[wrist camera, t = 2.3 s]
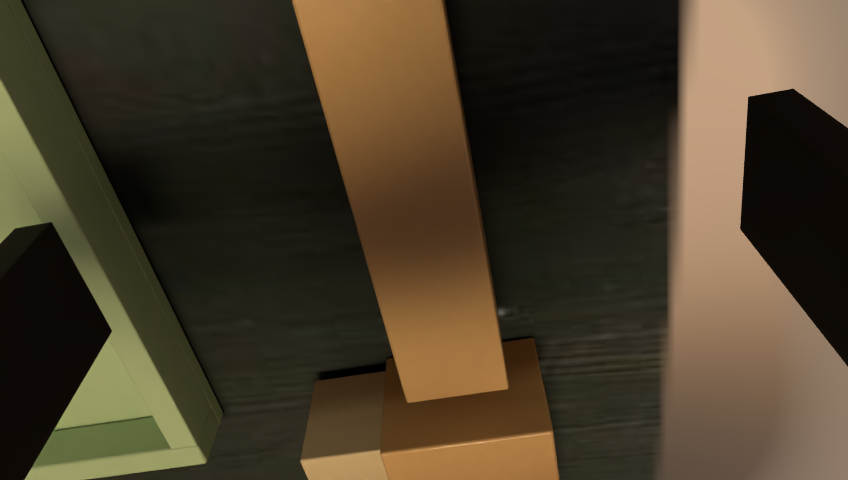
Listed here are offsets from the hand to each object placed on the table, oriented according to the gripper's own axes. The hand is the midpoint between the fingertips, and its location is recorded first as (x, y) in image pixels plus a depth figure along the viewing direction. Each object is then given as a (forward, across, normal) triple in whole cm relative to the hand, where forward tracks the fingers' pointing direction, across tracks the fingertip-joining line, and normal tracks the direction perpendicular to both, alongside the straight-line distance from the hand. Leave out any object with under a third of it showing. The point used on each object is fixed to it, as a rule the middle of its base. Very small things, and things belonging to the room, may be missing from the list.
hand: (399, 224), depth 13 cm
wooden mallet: (+4, -1, -3) cm, 5 cm away
